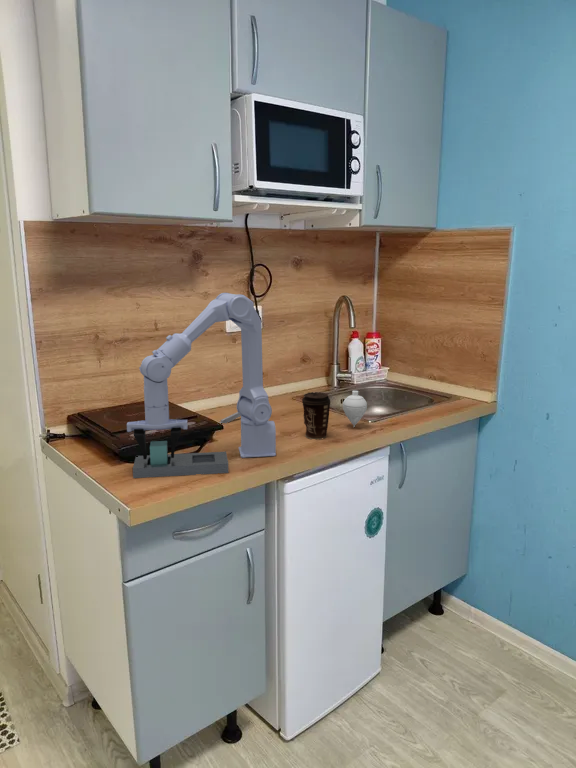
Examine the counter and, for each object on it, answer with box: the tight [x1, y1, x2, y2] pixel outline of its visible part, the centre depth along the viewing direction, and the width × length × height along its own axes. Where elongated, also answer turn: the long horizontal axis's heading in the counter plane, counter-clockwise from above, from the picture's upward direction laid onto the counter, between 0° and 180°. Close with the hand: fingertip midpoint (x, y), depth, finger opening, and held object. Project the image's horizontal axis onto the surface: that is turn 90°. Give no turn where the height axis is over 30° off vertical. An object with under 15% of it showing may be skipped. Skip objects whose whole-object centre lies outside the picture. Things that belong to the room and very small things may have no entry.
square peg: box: [149, 440, 169, 465], centre depth 141 cm, size 4×4×7 cm
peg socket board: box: [132, 451, 229, 479], centre depth 142 cm, size 23×9×2 cm, turn 100°
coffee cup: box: [301, 391, 331, 440], centre depth 169 cm, size 9×8×13 cm
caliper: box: [218, 411, 241, 424], centre depth 188 cm, size 20×1×6 cm, turn 136°
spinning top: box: [342, 390, 368, 428], centre depth 178 cm, size 8×8×12 cm
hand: (159, 457), depth 141 cm, fingers open, 6 cm apart
